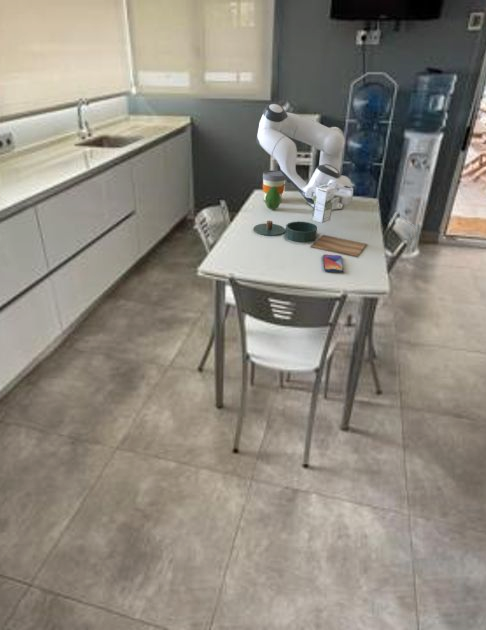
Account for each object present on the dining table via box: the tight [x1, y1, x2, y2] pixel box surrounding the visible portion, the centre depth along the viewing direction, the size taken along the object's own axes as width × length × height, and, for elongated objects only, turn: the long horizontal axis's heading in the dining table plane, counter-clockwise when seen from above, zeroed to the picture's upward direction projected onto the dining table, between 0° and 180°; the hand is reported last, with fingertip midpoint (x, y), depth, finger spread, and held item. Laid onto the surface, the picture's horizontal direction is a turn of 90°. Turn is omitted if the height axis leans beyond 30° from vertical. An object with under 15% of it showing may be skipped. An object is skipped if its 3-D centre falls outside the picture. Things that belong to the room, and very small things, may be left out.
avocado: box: [264, 186, 281, 211], centre depth 233 cm, size 8×8×12 cm
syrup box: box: [311, 185, 335, 224], centre depth 190 cm, size 6×6×14 cm
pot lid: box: [252, 220, 286, 237], centre depth 207 cm, size 15×15×5 cm
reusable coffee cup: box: [262, 169, 287, 202], centre depth 245 cm, size 13×13×15 cm
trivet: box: [311, 234, 367, 258], centre depth 195 cm, size 15×20×1 cm
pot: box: [284, 220, 318, 244], centre depth 201 cm, size 14×14×5 cm
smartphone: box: [322, 253, 345, 273], centre depth 178 cm, size 7×15×1 cm, turn 171°
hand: (323, 200), depth 188 cm, fingers closed on syrup box, 6 cm apart
